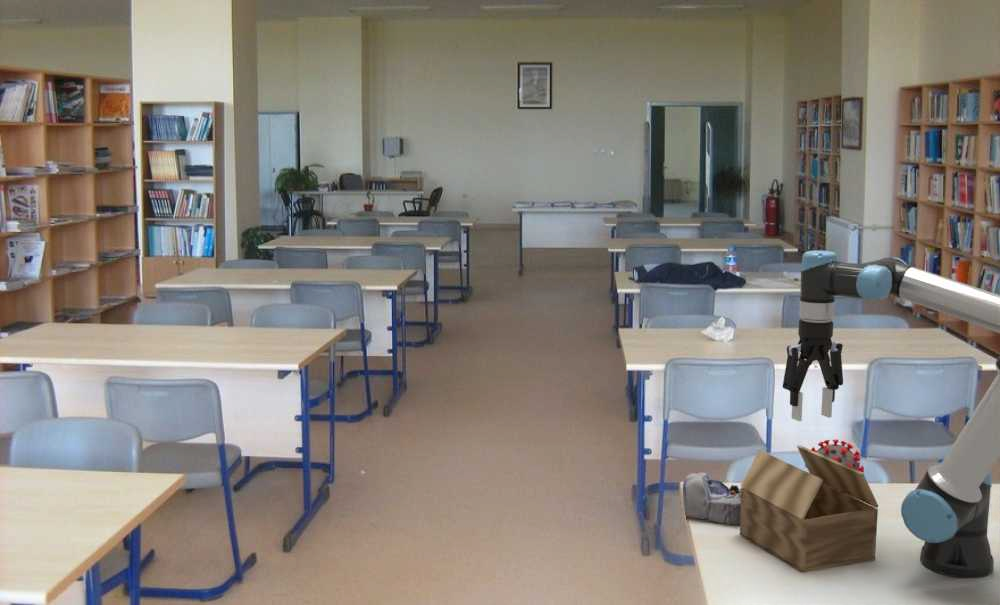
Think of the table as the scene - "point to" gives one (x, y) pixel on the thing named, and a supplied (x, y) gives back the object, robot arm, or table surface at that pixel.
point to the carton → (812, 530)
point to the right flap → (838, 475)
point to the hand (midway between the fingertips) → (811, 417)
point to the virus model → (840, 454)
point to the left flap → (782, 484)
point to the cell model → (711, 499)
